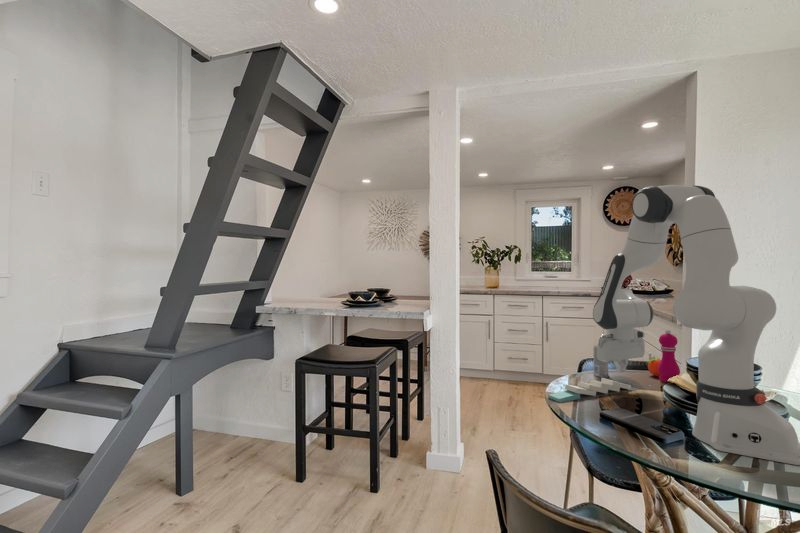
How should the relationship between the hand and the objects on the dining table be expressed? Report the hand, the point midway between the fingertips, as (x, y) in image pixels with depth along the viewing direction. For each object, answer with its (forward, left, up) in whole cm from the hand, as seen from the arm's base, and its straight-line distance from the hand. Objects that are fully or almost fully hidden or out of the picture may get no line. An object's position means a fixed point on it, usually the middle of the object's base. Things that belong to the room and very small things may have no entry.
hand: (621, 371), depth 149 cm
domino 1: (+8, +21, -5) cm, 23 cm away
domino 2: (+6, +14, -5) cm, 16 cm away
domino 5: (-1, -2, -5) cm, 6 cm away
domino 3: (+4, +9, -5) cm, 11 cm away
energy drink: (+13, -15, -7) cm, 21 cm away
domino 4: (+2, +4, -5) cm, 7 cm away
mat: (+4, +9, -7) cm, 11 cm away
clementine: (-4, -30, -7) cm, 31 cm away
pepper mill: (-9, -23, -7) cm, 26 cm away
